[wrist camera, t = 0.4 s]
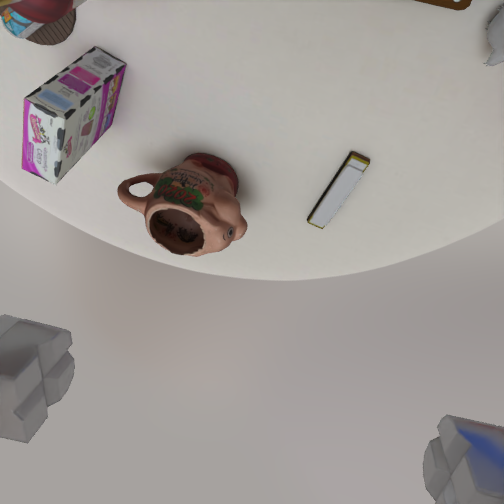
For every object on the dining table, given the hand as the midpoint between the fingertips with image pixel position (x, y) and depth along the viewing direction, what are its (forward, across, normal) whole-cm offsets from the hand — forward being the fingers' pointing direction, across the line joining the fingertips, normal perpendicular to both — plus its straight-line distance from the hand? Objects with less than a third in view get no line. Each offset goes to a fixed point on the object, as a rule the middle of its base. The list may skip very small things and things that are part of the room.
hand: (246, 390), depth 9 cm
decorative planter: (+57, +16, +15) cm, 61 cm away
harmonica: (+56, -6, +14) cm, 58 cm away
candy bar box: (+53, +31, +3) cm, 62 cm away
